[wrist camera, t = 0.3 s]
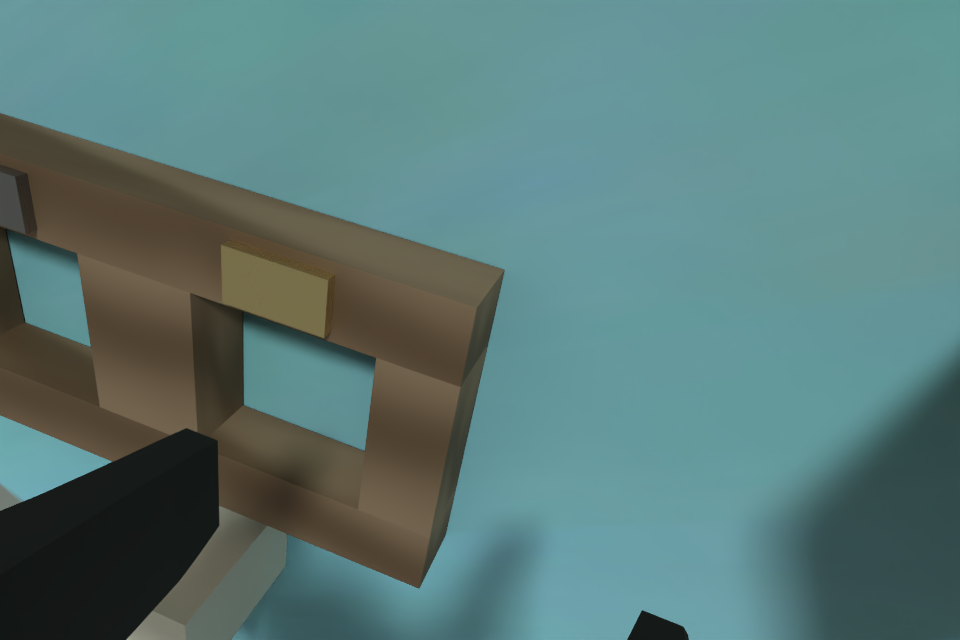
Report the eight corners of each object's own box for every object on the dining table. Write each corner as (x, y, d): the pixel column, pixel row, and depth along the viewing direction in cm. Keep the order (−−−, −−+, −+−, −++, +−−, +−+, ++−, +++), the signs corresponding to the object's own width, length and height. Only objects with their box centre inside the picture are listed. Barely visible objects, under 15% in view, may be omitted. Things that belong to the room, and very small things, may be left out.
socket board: (445, 534, 24) (419, 588, 22) (-13, 353, 28) (-73, 384, 26) (504, 269, 19) (476, 307, 16) (-79, 89, 22) (-163, 101, 20)
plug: (286, 565, 28) (190, 694, 23) (205, 531, 29) (96, 649, 24) (288, 499, 26) (184, 625, 21) (202, 464, 27) (81, 578, 22)
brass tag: (331, 331, 18) (324, 338, 18) (231, 296, 19) (222, 302, 18) (335, 274, 17) (328, 280, 17) (230, 239, 18) (220, 244, 18)
